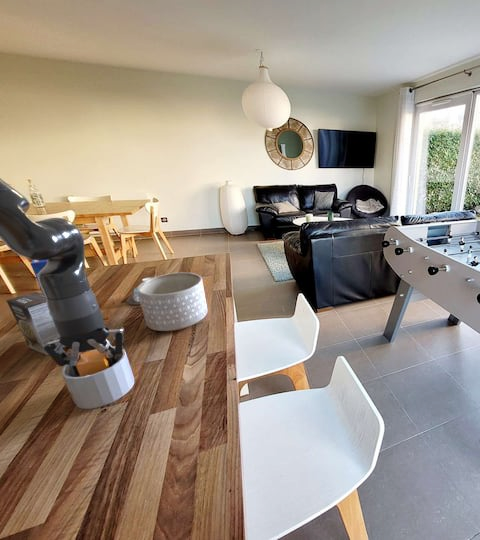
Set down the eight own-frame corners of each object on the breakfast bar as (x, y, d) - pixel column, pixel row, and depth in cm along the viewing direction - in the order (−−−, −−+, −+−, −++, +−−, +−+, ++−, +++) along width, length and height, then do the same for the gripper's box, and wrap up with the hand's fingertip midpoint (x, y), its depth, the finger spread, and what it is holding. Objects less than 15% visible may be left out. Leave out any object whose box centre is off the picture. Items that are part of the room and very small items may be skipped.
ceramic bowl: (66, 415, 64) (52, 384, 61) (84, 381, 74) (72, 353, 70) (129, 399, 69) (119, 369, 66) (138, 369, 78) (129, 342, 75)
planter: (211, 325, 99) (204, 288, 94) (145, 340, 90) (133, 300, 85) (205, 302, 114) (199, 269, 109) (148, 313, 105) (139, 277, 99)
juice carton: (89, 399, 68) (75, 365, 64) (95, 384, 72) (83, 352, 68) (116, 392, 70) (103, 359, 66) (120, 378, 74) (109, 347, 71)
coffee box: (27, 348, 85) (4, 300, 78) (55, 336, 90) (35, 290, 84) (46, 356, 82) (23, 306, 76) (73, 343, 87) (54, 296, 81)
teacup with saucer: (163, 300, 114) (159, 282, 111) (125, 308, 107) (119, 289, 104) (162, 289, 123) (158, 272, 120) (127, 295, 117) (122, 277, 114)
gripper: (120, 297, 69) (138, 354, 75) (39, 309, 63) (65, 370, 69) (112, 312, 63) (132, 372, 69) (21, 326, 57) (52, 392, 63)
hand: (99, 371), depth 69 cm, fingers closed on juice carton, 5 cm apart
